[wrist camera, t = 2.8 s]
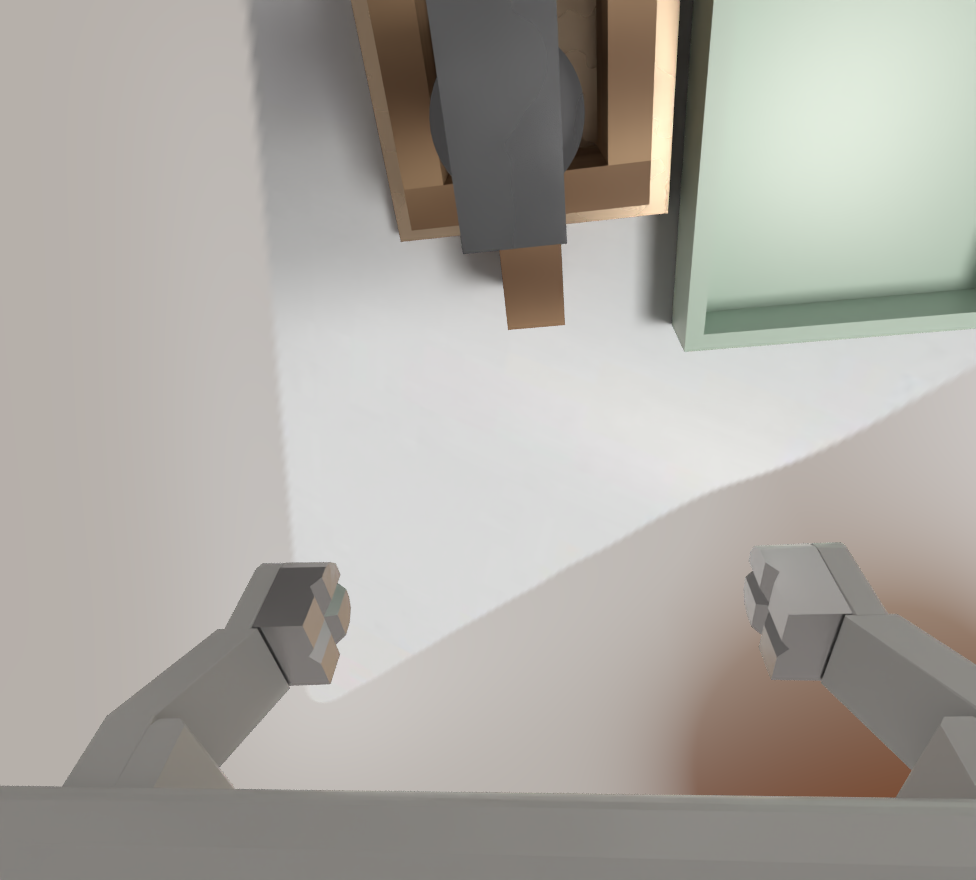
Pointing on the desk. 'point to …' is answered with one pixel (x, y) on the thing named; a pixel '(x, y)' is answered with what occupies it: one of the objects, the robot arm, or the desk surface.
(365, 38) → the post stand
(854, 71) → the sage tray
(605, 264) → the desk surface
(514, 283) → the walnut collar
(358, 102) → the desk surface
